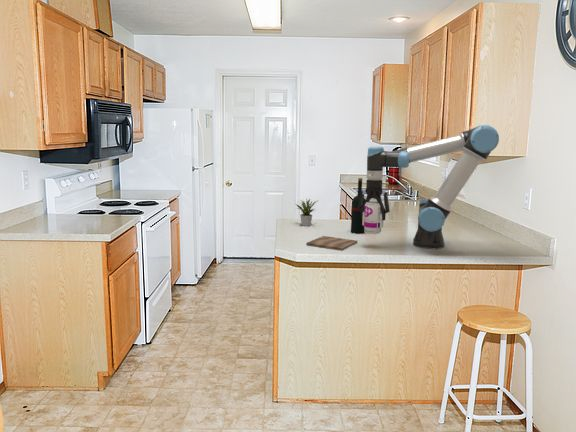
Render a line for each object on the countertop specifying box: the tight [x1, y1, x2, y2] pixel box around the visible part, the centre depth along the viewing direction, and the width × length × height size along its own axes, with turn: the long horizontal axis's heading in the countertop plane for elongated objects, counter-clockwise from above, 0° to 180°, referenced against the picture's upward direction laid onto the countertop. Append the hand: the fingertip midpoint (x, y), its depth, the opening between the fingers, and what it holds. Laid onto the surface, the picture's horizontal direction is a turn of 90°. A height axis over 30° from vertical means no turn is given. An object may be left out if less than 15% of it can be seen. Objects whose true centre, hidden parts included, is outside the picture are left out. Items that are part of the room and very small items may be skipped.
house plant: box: [294, 198, 318, 227], centre depth 299 cm, size 14×14×16 cm
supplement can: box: [364, 200, 382, 235], centre depth 249 cm, size 8×8×15 cm
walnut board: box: [306, 235, 358, 252], centre depth 255 cm, size 19×19×1 cm
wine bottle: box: [350, 177, 366, 235], centre depth 280 cm, size 8×10×30 cm
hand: (372, 225), depth 249 cm, fingers closed on supplement can, 8 cm apart
